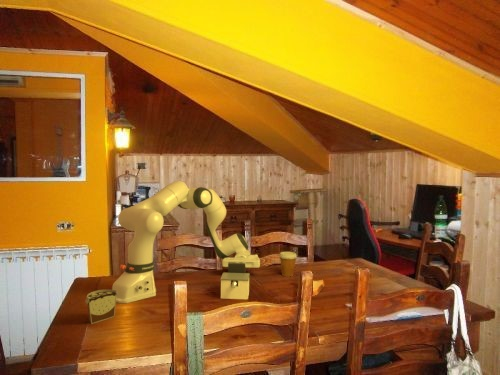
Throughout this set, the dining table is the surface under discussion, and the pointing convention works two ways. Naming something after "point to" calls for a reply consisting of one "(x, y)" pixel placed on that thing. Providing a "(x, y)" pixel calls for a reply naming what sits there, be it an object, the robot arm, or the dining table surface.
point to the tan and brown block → (101, 305)
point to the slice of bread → (317, 287)
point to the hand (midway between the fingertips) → (240, 266)
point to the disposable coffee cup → (287, 263)
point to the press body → (241, 287)
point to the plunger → (236, 270)
